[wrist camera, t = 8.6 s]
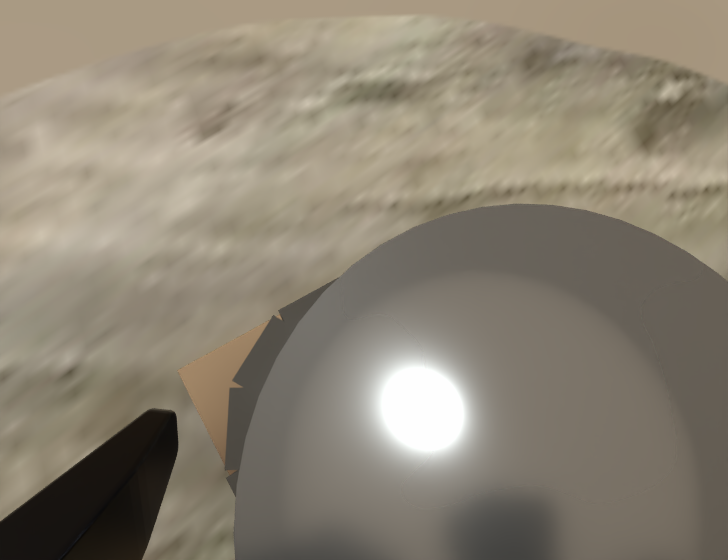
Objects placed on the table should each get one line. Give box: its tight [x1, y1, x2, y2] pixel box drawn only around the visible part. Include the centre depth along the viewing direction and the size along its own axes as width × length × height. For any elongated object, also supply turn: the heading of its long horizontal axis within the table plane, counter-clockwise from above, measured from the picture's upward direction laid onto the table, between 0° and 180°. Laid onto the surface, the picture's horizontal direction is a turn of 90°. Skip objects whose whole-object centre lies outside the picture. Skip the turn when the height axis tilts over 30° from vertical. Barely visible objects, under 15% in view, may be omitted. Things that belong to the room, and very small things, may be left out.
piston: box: [234, 204, 728, 560], centre depth 10 cm, size 5×5×13 cm
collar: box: [177, 278, 338, 497], centre depth 16 cm, size 10×10×3 cm
